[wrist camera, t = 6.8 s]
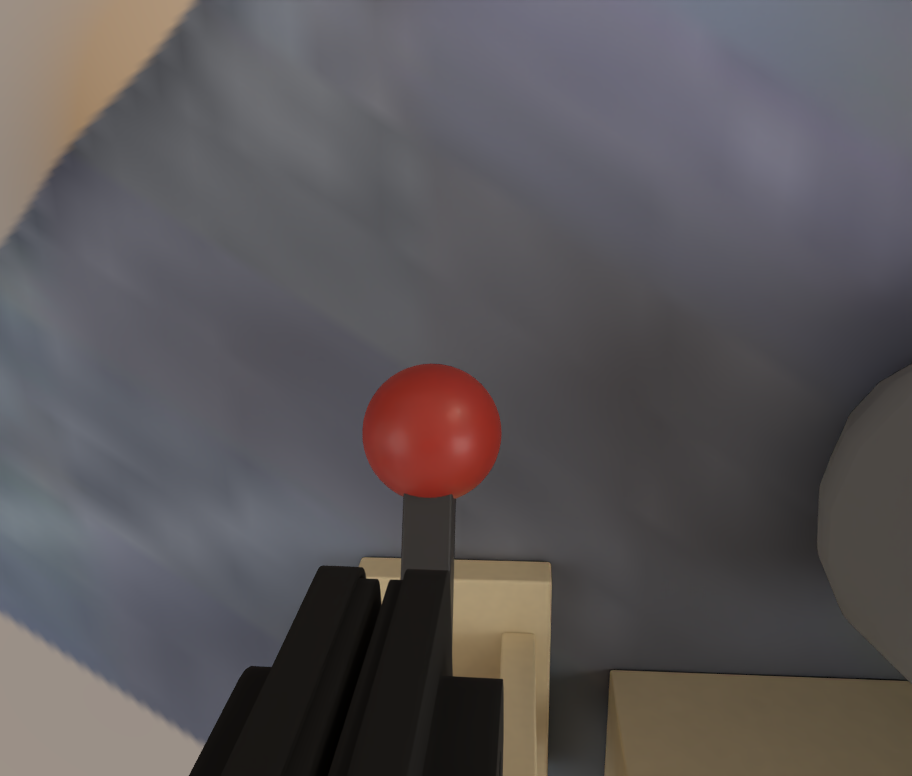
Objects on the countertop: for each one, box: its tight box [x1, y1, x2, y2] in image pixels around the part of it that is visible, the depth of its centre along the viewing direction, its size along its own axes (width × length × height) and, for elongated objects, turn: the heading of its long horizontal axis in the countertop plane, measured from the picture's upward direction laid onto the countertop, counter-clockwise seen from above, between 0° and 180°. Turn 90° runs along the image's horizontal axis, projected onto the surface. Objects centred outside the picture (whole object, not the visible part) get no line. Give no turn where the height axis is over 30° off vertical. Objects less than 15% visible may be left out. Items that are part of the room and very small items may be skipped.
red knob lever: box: [363, 364, 501, 639], centre depth 17 cm, size 15×3×3 cm, turn 0°
